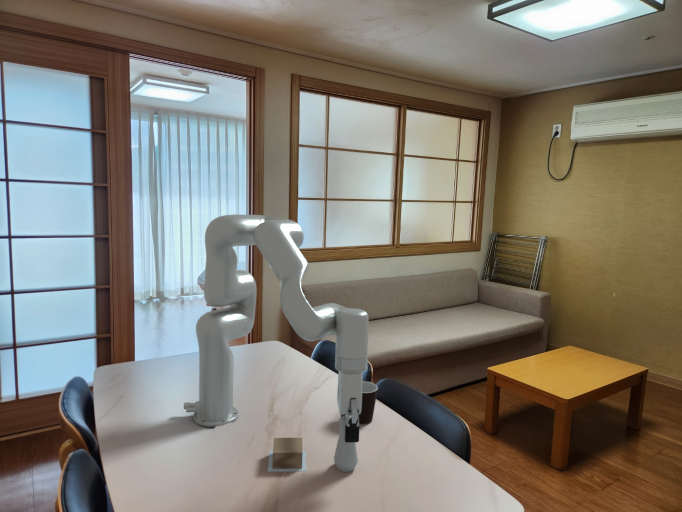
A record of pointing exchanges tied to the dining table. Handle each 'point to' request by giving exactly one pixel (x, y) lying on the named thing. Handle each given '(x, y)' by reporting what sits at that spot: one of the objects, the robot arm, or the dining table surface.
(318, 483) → the dining table surface
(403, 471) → the dining table surface
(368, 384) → the coffee mug
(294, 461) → the base block
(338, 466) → the salt shaker
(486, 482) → the dining table surface
